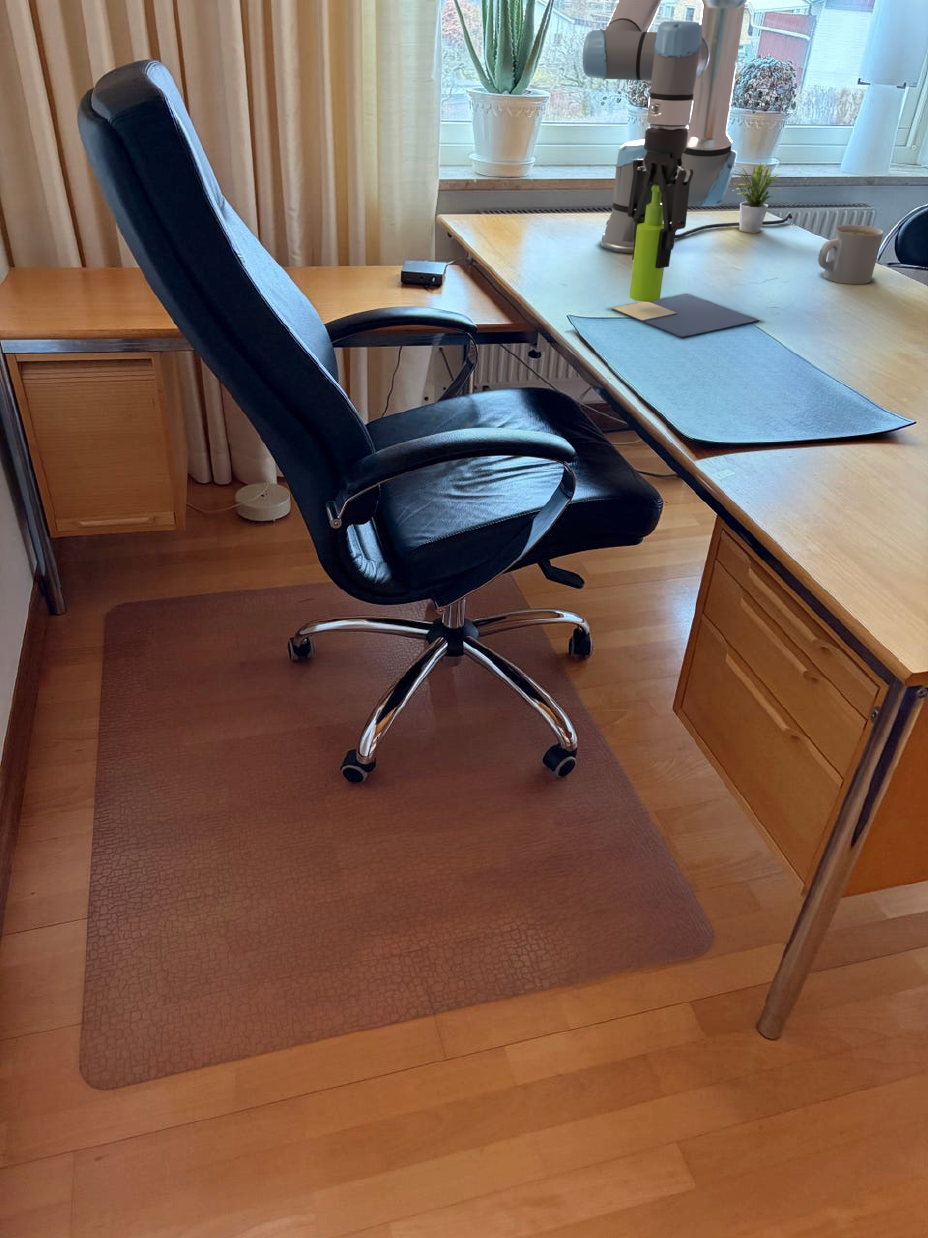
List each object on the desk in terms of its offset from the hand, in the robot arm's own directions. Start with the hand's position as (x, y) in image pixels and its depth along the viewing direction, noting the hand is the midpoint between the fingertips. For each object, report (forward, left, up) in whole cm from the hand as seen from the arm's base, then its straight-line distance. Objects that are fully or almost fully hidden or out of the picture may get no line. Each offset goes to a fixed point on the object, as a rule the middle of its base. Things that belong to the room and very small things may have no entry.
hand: (650, 262), depth 174 cm
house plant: (-72, -42, -10) cm, 83 cm away
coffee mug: (-55, +2, -10) cm, 55 cm away
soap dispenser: (0, 0, -7) cm, 7 cm away
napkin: (-6, +5, -9) cm, 12 cm away
